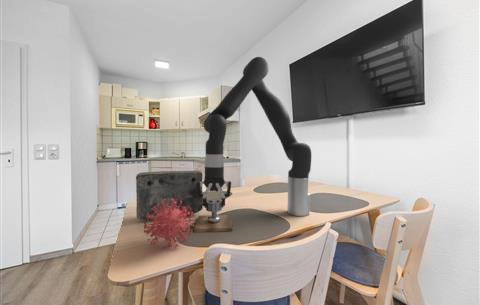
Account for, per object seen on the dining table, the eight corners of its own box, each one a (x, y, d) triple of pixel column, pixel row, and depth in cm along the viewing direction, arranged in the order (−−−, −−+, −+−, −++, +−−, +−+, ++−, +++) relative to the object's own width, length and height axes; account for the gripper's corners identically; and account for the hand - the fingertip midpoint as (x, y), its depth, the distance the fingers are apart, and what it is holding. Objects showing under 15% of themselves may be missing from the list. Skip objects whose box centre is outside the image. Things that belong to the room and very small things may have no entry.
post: (220, 218, 84) (220, 199, 83) (219, 223, 79) (220, 202, 79) (208, 219, 83) (208, 199, 83) (207, 223, 78) (207, 202, 78)
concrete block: (200, 211, 97) (200, 169, 96) (203, 217, 89) (203, 172, 88) (138, 217, 88) (138, 171, 87) (135, 225, 79) (135, 174, 79)
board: (230, 217, 89) (230, 214, 89) (232, 231, 75) (232, 227, 75) (198, 218, 87) (198, 215, 87) (194, 232, 73) (194, 228, 73)
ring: (221, 206, 84) (221, 199, 84) (221, 211, 78) (221, 203, 78) (206, 207, 84) (206, 199, 84) (205, 212, 78) (205, 203, 77)
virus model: (147, 265, 53) (147, 209, 52) (141, 242, 65) (141, 196, 65) (201, 250, 61) (201, 201, 60) (186, 232, 73) (186, 191, 73)
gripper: (231, 164, 85) (231, 204, 85) (197, 164, 83) (196, 204, 84) (232, 166, 77) (232, 209, 78) (194, 166, 76) (194, 210, 76)
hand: (213, 206), depth 81 cm, fingers closed on ring, 6 cm apart
